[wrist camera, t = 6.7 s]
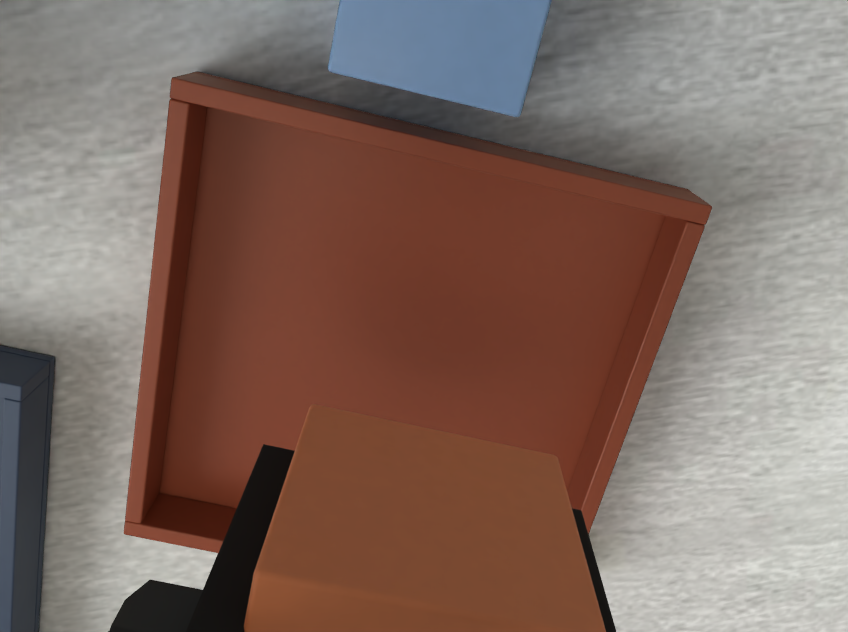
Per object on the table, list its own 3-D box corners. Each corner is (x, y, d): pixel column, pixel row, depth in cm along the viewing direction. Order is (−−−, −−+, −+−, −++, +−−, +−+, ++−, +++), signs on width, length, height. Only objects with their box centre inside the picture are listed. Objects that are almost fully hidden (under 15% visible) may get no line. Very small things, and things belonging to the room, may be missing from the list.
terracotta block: (310, 401, 15) (253, 572, 10) (558, 454, 15) (612, 643, 11) (270, 602, 17) (205, 827, 12) (494, 645, 17) (515, 881, 12)
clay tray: (196, 71, 24) (171, 76, 22) (689, 189, 25) (713, 206, 23) (146, 495, 30) (123, 534, 28) (548, 577, 31) (556, 621, 29)
